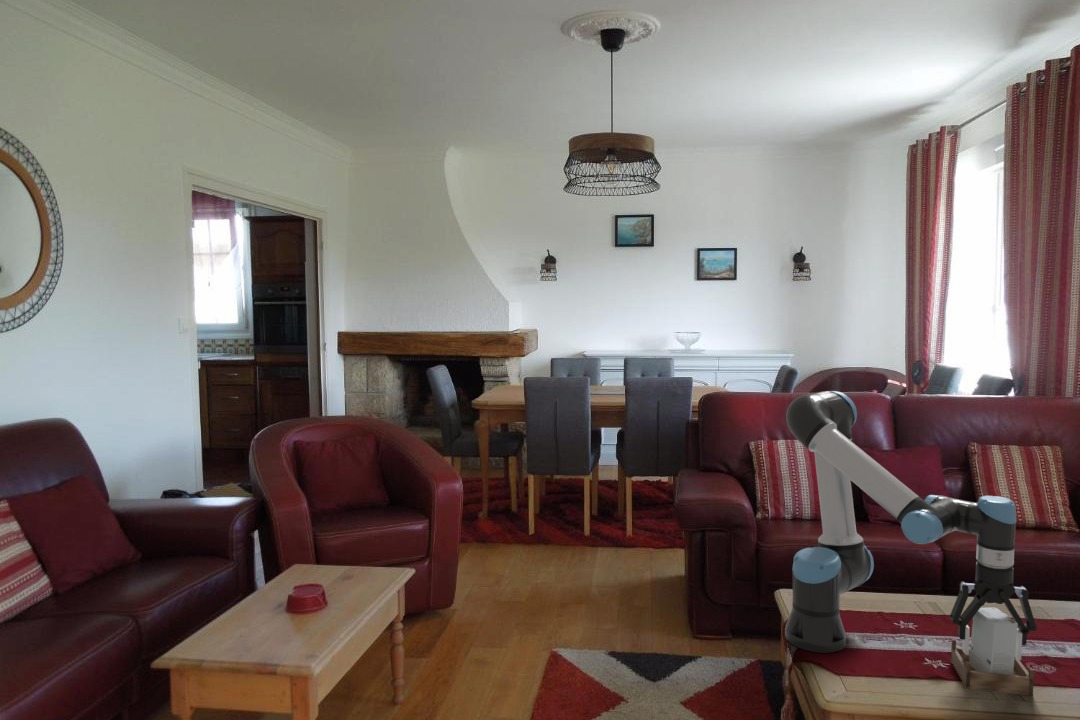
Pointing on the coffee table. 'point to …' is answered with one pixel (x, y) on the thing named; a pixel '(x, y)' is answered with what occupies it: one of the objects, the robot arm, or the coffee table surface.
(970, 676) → the box
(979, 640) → the skincare box
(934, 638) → the coffee table surface
